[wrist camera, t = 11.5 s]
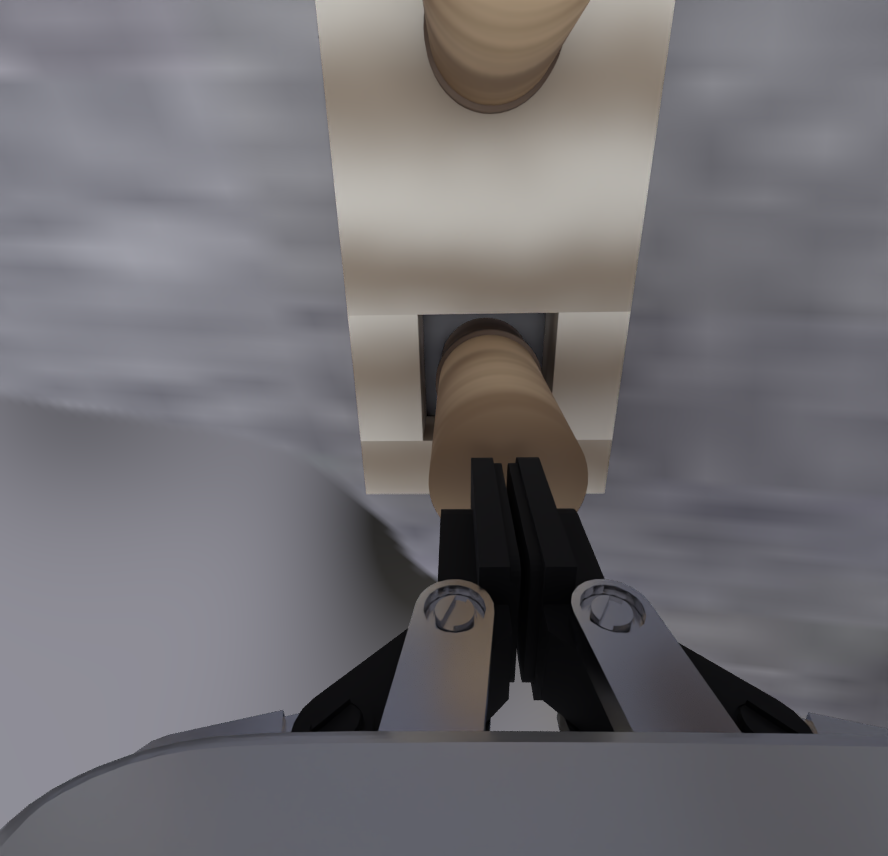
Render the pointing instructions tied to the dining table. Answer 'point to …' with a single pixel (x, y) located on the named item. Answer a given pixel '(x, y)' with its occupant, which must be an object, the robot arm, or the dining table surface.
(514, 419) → the oak peg
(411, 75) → the board
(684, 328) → the dining table surface
